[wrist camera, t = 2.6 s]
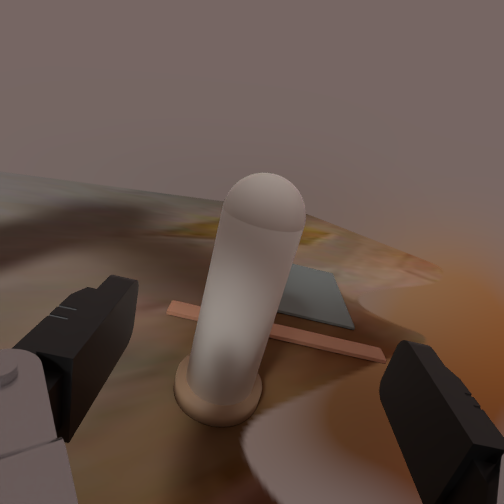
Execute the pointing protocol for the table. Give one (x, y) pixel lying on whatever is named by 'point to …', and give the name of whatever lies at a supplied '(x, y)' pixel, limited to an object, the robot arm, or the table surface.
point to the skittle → (241, 300)
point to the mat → (314, 297)
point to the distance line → (296, 336)
